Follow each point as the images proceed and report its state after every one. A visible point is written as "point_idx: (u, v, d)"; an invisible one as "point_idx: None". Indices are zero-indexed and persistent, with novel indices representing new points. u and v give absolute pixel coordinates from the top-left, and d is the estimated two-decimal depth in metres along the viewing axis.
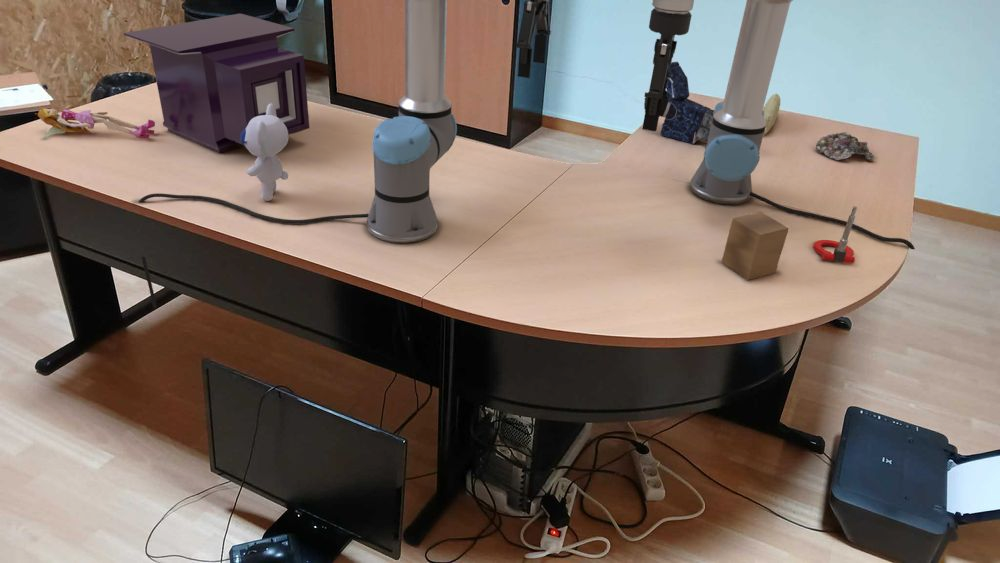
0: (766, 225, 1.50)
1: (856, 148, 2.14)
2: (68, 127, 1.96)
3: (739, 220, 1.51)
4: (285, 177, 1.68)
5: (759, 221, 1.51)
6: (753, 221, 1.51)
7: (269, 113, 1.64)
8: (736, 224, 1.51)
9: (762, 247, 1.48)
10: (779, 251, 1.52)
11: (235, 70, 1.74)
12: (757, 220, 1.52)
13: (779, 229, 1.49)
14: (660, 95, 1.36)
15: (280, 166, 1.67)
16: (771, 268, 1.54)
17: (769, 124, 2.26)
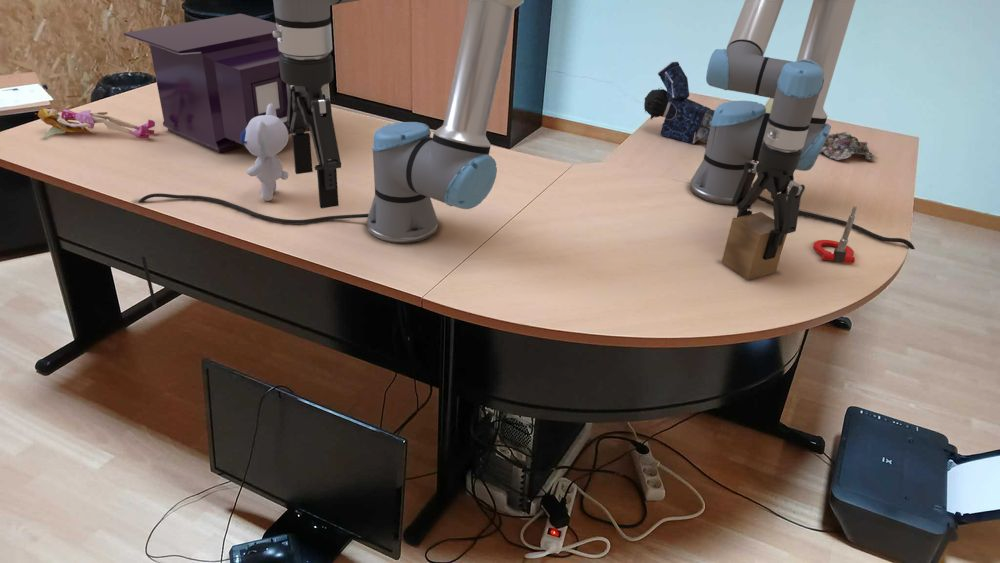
0: (766, 225, 1.50)
1: (856, 148, 2.14)
2: (68, 127, 1.96)
3: (739, 220, 1.51)
4: (285, 177, 1.68)
5: (759, 221, 1.51)
6: (753, 221, 1.51)
7: (269, 113, 1.64)
8: (736, 224, 1.51)
9: (762, 247, 1.48)
10: (779, 251, 1.52)
11: (235, 70, 1.74)
12: (757, 220, 1.52)
13: None
14: None
15: (280, 166, 1.67)
16: (771, 268, 1.54)
17: None
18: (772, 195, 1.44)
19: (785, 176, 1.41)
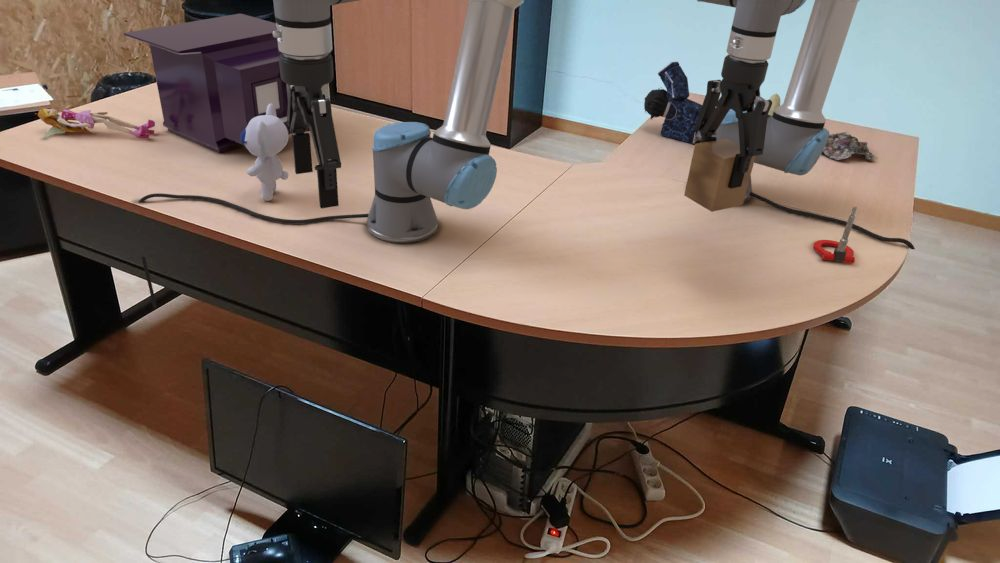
0: (732, 150, 1.36)
1: (856, 148, 2.14)
2: (68, 127, 1.96)
3: (702, 145, 1.37)
4: (285, 177, 1.68)
5: (724, 147, 1.37)
6: (718, 147, 1.37)
7: (269, 113, 1.64)
8: (699, 150, 1.37)
9: (727, 173, 1.35)
10: (746, 180, 1.38)
11: (235, 70, 1.74)
12: (721, 145, 1.38)
13: None
14: None
15: (280, 166, 1.67)
16: (738, 199, 1.40)
17: None
18: (737, 114, 1.31)
19: (750, 91, 1.28)
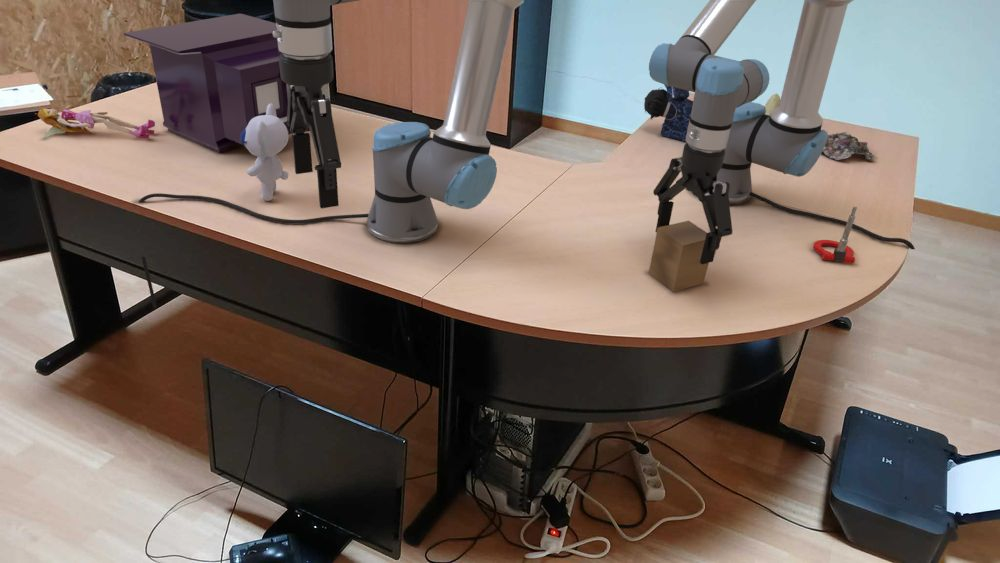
0: (692, 235, 1.44)
1: (856, 148, 2.14)
2: (68, 127, 1.96)
3: (664, 229, 1.45)
4: (285, 177, 1.68)
5: (685, 231, 1.45)
6: (679, 231, 1.45)
7: (269, 113, 1.64)
8: (661, 233, 1.45)
9: (686, 257, 1.43)
10: None
11: (235, 70, 1.74)
12: (682, 229, 1.46)
13: (704, 238, 1.43)
14: None
15: (280, 166, 1.67)
16: (698, 279, 1.48)
17: None
18: (699, 197, 1.37)
19: (707, 177, 1.35)
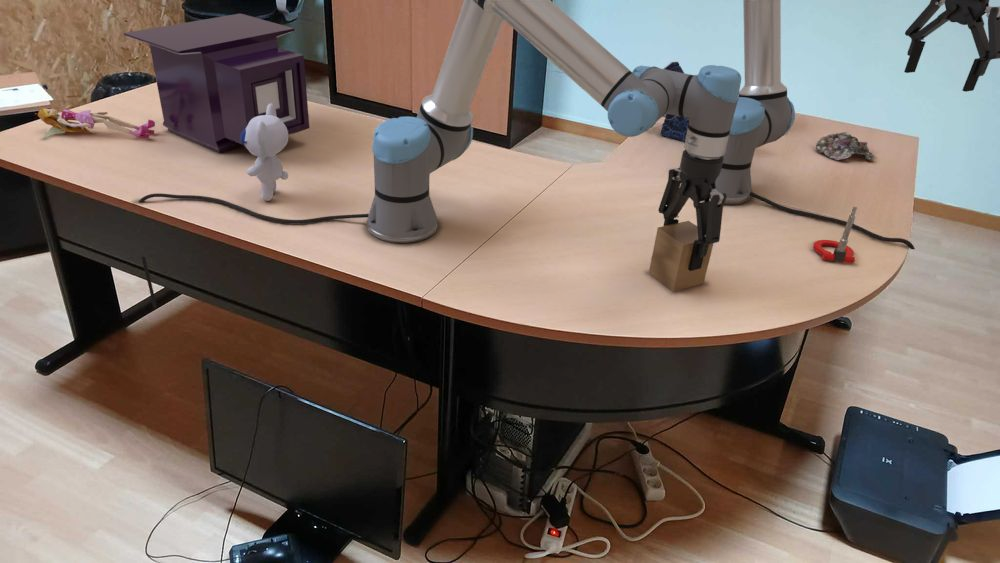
0: (692, 235, 1.44)
1: (856, 148, 2.14)
2: (68, 127, 1.96)
3: (664, 229, 1.45)
4: (285, 177, 1.68)
5: (685, 231, 1.45)
6: (679, 231, 1.45)
7: (269, 113, 1.64)
8: (661, 233, 1.45)
9: (686, 257, 1.43)
10: (706, 261, 1.46)
11: (235, 70, 1.74)
12: (683, 229, 1.46)
13: None
14: None
15: (280, 166, 1.67)
16: (698, 279, 1.48)
17: None
18: (969, 24, 1.47)
19: (980, 3, 1.45)
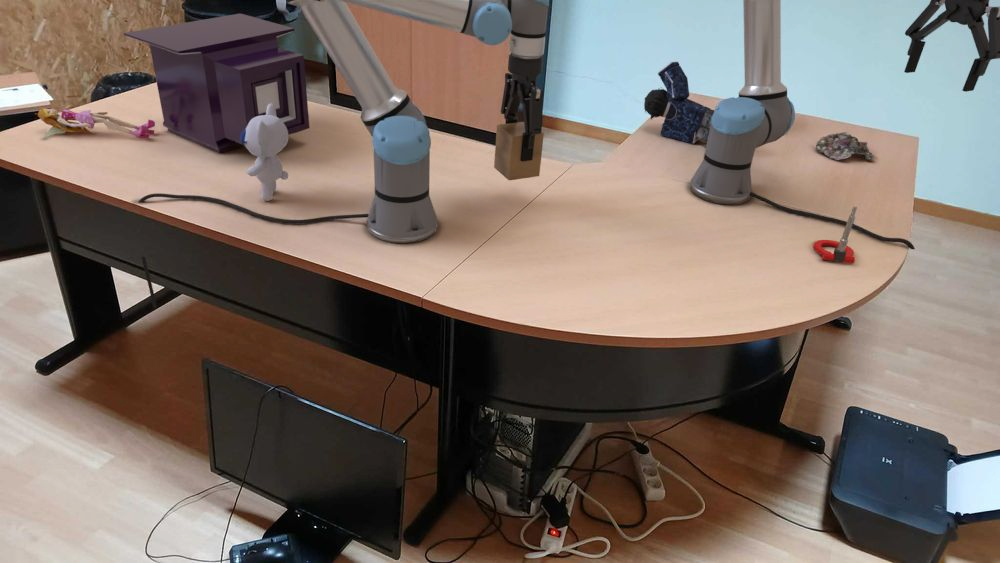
0: (524, 130, 1.67)
1: (856, 148, 2.14)
2: (68, 127, 1.96)
3: (502, 126, 1.68)
4: (285, 177, 1.68)
5: (519, 127, 1.68)
6: (514, 127, 1.68)
7: (269, 113, 1.64)
8: (499, 129, 1.68)
9: (517, 148, 1.65)
10: (538, 155, 1.69)
11: (235, 70, 1.74)
12: (518, 126, 1.69)
13: None
14: None
15: (280, 166, 1.67)
16: (533, 171, 1.71)
17: None
18: (969, 24, 1.47)
19: (980, 3, 1.45)
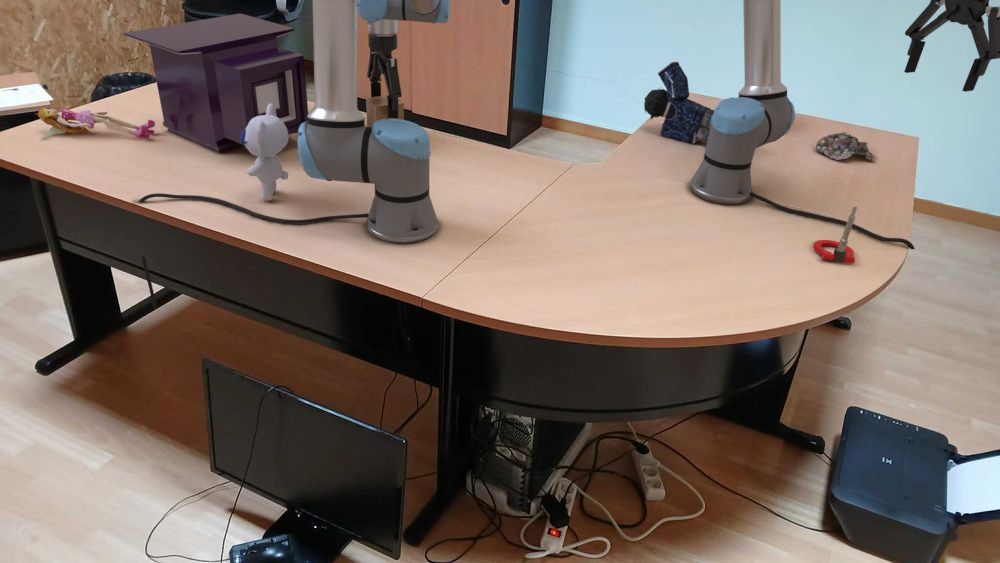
0: None
1: (856, 148, 2.14)
2: (68, 127, 1.96)
3: (369, 98, 2.02)
4: (285, 177, 1.68)
5: (384, 99, 2.02)
6: (380, 99, 2.01)
7: (269, 113, 1.64)
8: (367, 101, 2.02)
9: (381, 116, 1.99)
10: None
11: (235, 70, 1.74)
12: (384, 98, 2.02)
13: None
14: None
15: (280, 166, 1.67)
16: None
17: None
18: (969, 24, 1.47)
19: (980, 3, 1.45)
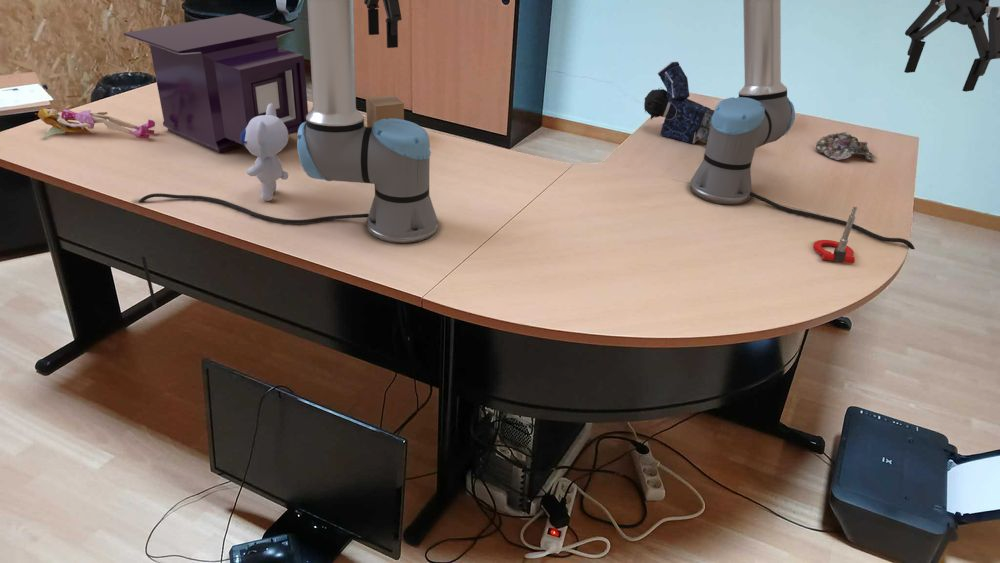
0: (388, 101, 2.00)
1: (856, 148, 2.14)
2: (68, 127, 1.96)
3: (369, 98, 2.02)
4: (285, 177, 1.68)
5: (384, 99, 2.02)
6: (380, 99, 2.01)
7: (269, 113, 1.64)
8: (367, 101, 2.02)
9: (381, 116, 1.99)
10: None
11: (235, 70, 1.74)
12: (384, 98, 2.02)
13: (395, 103, 1.99)
14: None
15: (280, 166, 1.67)
16: None
17: None
18: (969, 24, 1.47)
19: (980, 3, 1.45)
